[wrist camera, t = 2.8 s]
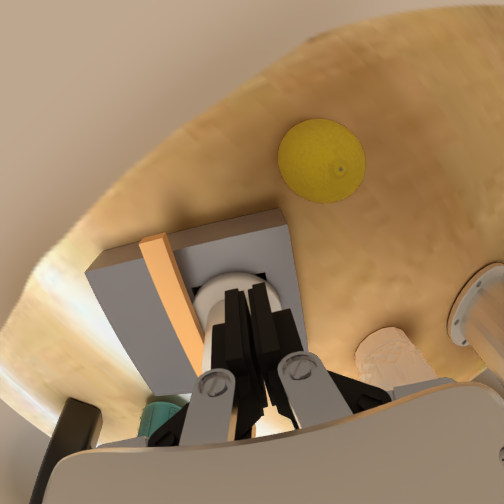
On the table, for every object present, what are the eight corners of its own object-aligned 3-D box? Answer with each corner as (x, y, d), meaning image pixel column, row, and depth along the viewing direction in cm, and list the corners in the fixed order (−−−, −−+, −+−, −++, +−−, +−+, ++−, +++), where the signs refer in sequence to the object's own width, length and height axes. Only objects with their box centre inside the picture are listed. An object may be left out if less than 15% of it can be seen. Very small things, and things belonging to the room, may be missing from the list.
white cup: (344, 375, 33) (368, 441, 24) (356, 326, 30) (392, 397, 21) (399, 365, 33) (430, 423, 24) (416, 317, 30) (459, 376, 21)
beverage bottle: (135, 393, 33) (104, 535, 14) (182, 388, 32) (165, 546, 14) (158, 420, 35) (140, 548, 17) (201, 416, 35) (196, 554, 17)
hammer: (144, 229, 20) (127, 252, 16) (176, 221, 20) (165, 242, 16) (209, 382, 26) (207, 413, 23) (233, 378, 26) (234, 410, 23)
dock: (279, 207, 24) (287, 224, 20) (303, 344, 30) (311, 372, 26) (102, 251, 24) (84, 272, 21) (161, 369, 31) (155, 396, 27)
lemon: (350, 167, 23) (399, 190, 15) (292, 199, 24) (318, 236, 16) (319, 107, 21) (360, 101, 13) (257, 140, 22) (269, 149, 14)
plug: (266, 242, 25) (285, 317, 16) (280, 307, 28) (299, 392, 18) (187, 260, 25) (165, 339, 16) (210, 322, 28) (203, 408, 19)
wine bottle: (100, 407, 34) (58, 588, 7) (103, 425, 36) (69, 587, 9) (66, 395, 33) (12, 566, 6) (71, 414, 35) (28, 569, 8)
